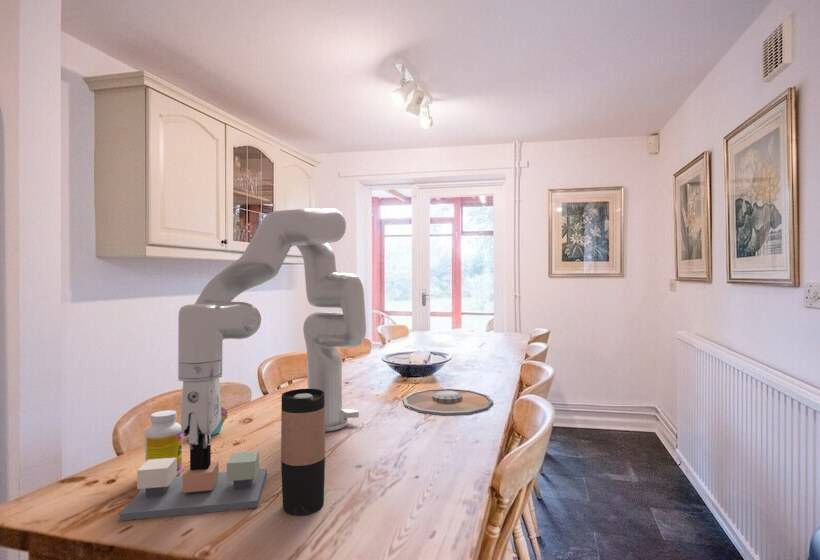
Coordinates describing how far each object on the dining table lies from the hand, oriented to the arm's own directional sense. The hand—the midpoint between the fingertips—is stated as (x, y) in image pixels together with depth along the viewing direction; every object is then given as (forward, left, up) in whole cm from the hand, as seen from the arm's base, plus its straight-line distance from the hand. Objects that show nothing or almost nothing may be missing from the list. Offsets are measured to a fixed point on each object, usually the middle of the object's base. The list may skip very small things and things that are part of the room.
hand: (200, 467), depth 83 cm
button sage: (-8, 0, -2) cm, 8 cm away
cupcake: (+7, -37, -5) cm, 38 cm away
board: (0, 0, -5) cm, 5 cm away
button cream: (+7, 0, -2) cm, 8 cm away
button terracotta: (0, 0, -3) cm, 3 cm away
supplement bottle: (+10, -11, -5) cm, 16 cm away
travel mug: (-19, +8, -5) cm, 21 cm away
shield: (-63, -53, -6) cm, 83 cm away
